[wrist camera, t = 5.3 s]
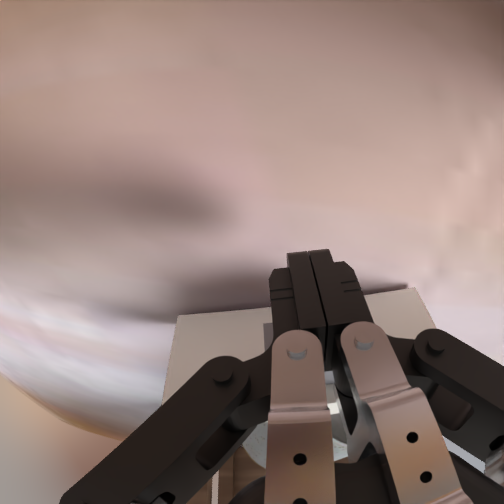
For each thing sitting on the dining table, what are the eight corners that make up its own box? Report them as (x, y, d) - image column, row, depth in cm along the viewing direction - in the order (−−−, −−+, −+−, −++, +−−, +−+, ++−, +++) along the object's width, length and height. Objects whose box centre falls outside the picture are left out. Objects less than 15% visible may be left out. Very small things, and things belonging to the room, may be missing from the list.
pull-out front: (167, 289, 17) (143, 391, 12) (421, 260, 16) (472, 348, 11) (183, 328, 19) (168, 424, 14) (411, 301, 18) (450, 387, 13)
